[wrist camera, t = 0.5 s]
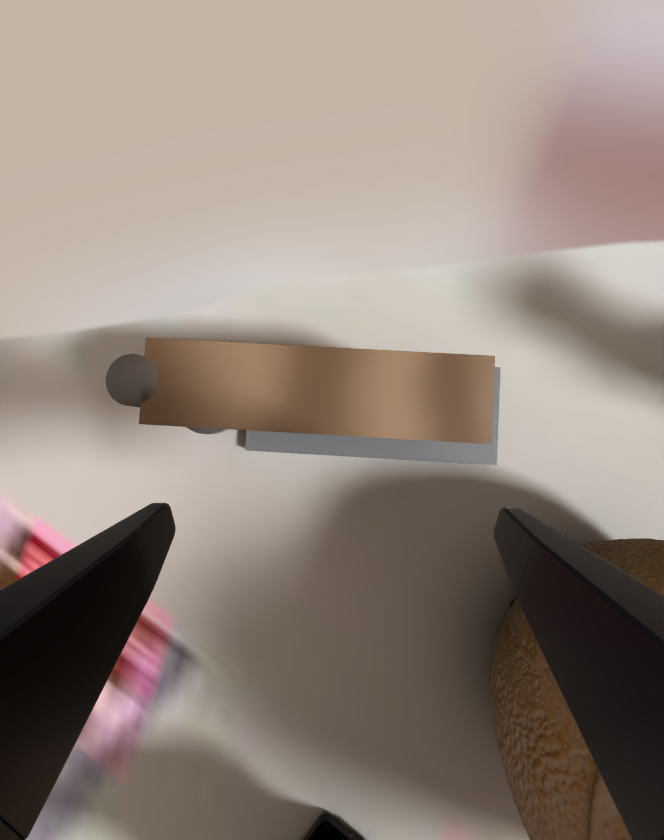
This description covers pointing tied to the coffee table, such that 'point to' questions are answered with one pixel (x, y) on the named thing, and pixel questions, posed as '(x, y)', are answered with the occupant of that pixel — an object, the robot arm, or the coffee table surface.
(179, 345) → the block
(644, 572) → the brown round pot
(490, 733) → the coffee table surface
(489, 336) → the coffee table surface
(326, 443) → the label board
